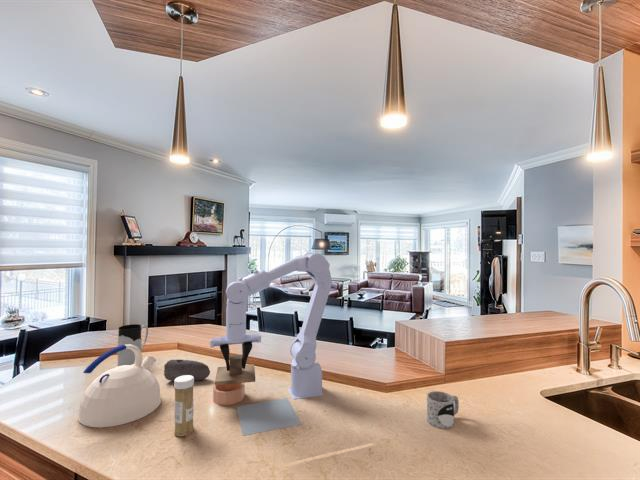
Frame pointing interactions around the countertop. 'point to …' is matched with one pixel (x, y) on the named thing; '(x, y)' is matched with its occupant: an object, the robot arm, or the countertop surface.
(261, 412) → the rubber mat
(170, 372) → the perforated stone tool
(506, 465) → the countertop surface
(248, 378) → the cover board
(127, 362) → the gray black pitcher
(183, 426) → the sprinkles bottle
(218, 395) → the terracotta bowl
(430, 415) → the mug
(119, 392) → the kettle
